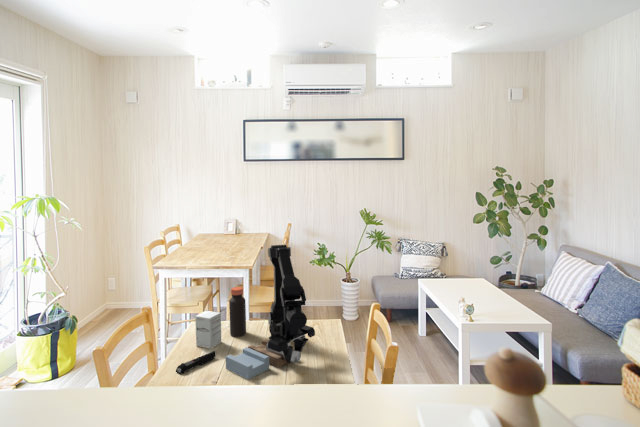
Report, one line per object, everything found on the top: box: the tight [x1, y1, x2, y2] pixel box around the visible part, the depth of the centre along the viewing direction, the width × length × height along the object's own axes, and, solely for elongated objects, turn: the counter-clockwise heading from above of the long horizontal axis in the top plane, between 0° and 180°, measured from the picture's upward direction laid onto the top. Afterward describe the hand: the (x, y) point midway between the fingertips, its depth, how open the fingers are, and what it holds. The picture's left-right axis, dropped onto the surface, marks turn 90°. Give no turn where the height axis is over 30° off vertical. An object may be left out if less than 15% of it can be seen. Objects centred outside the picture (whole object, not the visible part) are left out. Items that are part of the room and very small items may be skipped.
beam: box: [247, 338, 292, 368], centre depth 151 cm, size 16×9×4 cm, turn 50°
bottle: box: [228, 286, 247, 338], centre depth 172 cm, size 7×7×20 cm
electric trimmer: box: [175, 350, 216, 376], centre depth 146 cm, size 4×16×3 cm, turn 141°
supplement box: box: [195, 310, 222, 349], centre depth 163 cm, size 7×7×13 cm
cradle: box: [225, 346, 270, 380], centre depth 143 cm, size 12×10×4 cm
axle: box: [266, 343, 302, 364], centre depth 147 cm, size 14×4×4 cm, turn 50°
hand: (292, 360), depth 144 cm, fingers closed on axle, 4 cm apart
